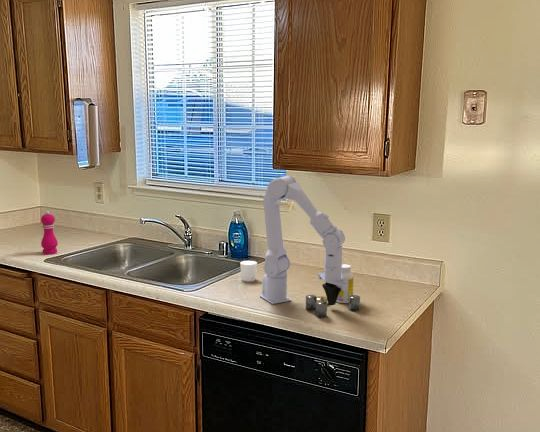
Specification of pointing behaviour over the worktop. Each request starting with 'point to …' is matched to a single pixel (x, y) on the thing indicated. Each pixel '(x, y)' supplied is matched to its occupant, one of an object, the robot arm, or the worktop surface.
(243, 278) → the white cylinder
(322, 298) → the nut
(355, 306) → the grey metal cylinder
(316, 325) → the worktop surface
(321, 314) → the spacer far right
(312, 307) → the spacer near
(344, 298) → the supplement bottle
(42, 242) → the pepper mill
